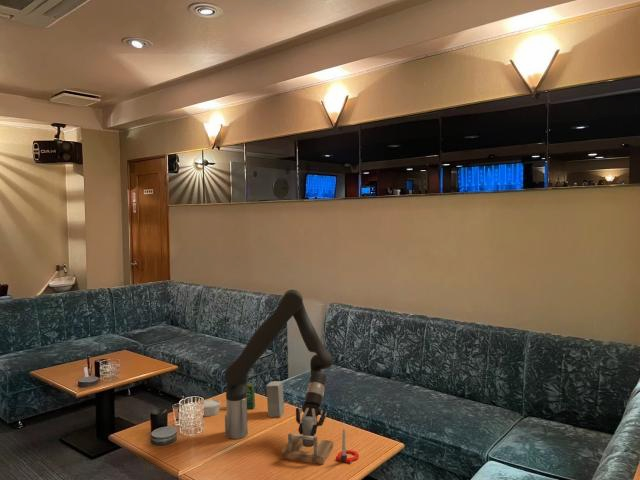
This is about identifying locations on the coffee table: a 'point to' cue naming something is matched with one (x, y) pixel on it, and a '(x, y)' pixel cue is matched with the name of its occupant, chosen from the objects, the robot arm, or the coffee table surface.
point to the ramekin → (211, 407)
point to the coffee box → (250, 396)
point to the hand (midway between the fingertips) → (306, 434)
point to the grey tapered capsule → (307, 430)
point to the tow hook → (342, 454)
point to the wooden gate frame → (317, 456)
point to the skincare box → (275, 398)
